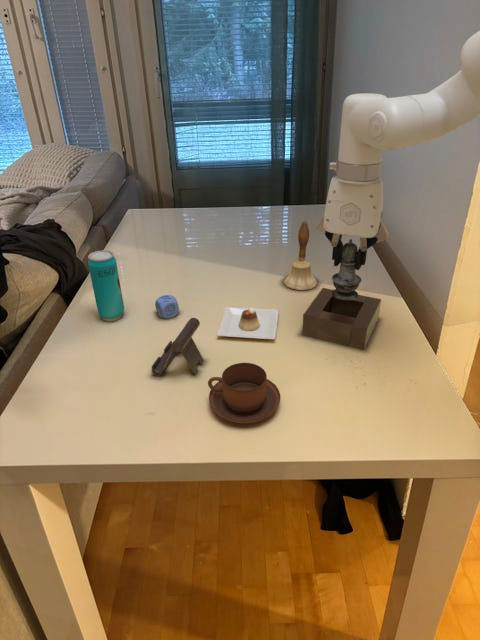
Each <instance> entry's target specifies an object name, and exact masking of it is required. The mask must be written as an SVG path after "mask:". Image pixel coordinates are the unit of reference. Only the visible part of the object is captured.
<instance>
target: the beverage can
mask: <svg viewBox="0 0 480 640" xmlns="http://www.w3.org/2000/svg"><path fill="white" fill-rule="evenodd" d="M87 258H88V261H87V265H88V271H89V275H90V280H91V284H92V289H93V294H94V299H95V304H96V310H97V314H98V315H99V316H100V318H101V320H103V321H104V322H105V321H106V322H115V321H118V320H120V319H121V318H122V317H123V316H124V312H125V306H124V304H125V303H124V297H123V292H122V287H121V282H120V276H119V275H120V274H119V270H118V264H117V258H116V257H115V256H114V252H113V251H111V250H108V249H107V250H106V249H105V250H103V249H101V250H96V251H93V252H90V253H89V255H88V257H87Z"/></svg>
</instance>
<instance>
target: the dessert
mask: <svg viewBox="0 0 480 640" xmlns="http://www.w3.org/2000/svg"><path fill="white" fill-rule="evenodd" d="M279 312H280V310H279V309H276V308H274V309H273V308H255V307H252V306H249V307H237V306H226V307H225V309H224V311H223V315H222V317H221V321H220V324H219V327H218V329H217V330H218V331H217V333H216V336H217V337H226V338H227V337H228V338H242V339H243V338H245V339H258V340H259V339H262V340H276V336H277V329H278V328H277V327H278V319H279Z"/></svg>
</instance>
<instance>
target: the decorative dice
mask: <svg viewBox="0 0 480 640" xmlns="http://www.w3.org/2000/svg"><path fill="white" fill-rule="evenodd" d="M154 305H155V310H156V313H157V315H158V316H159V317H160V318H162V319H164V320H165V319H173V318H174V317H176V316H177V314H178V313H179V310H180V307H179V303H178V300H177V298H176V297H175V296H174V295H172V294H163V295H160V296H159V297H157V298H156V299H155V302H154Z"/></svg>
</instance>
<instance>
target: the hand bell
mask: <svg viewBox="0 0 480 640" xmlns="http://www.w3.org/2000/svg"><path fill="white" fill-rule="evenodd" d="M297 238H298V239H297V240H298V245H299V246H298V247H299V250H298V258H297V260H295V261H293V262H292V265H291V270H290V272H289V274H288V275H287V276H286V277H285V279H284V280H283V284H284V285H285V287H287V288H288V289H291V290H296V291H308V290H312V289H314V288H316V286H317V285H318V281H317V279H316V278H315V277H314V276H313V274H312V269H311V263H310V262H309V261H308V260H306V256H307V253H306V252H307V245H308V243H309V239H310V229H309V224H308V221H305V220H304V221H301V224H300V227H299V230H298V233H297Z"/></svg>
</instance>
